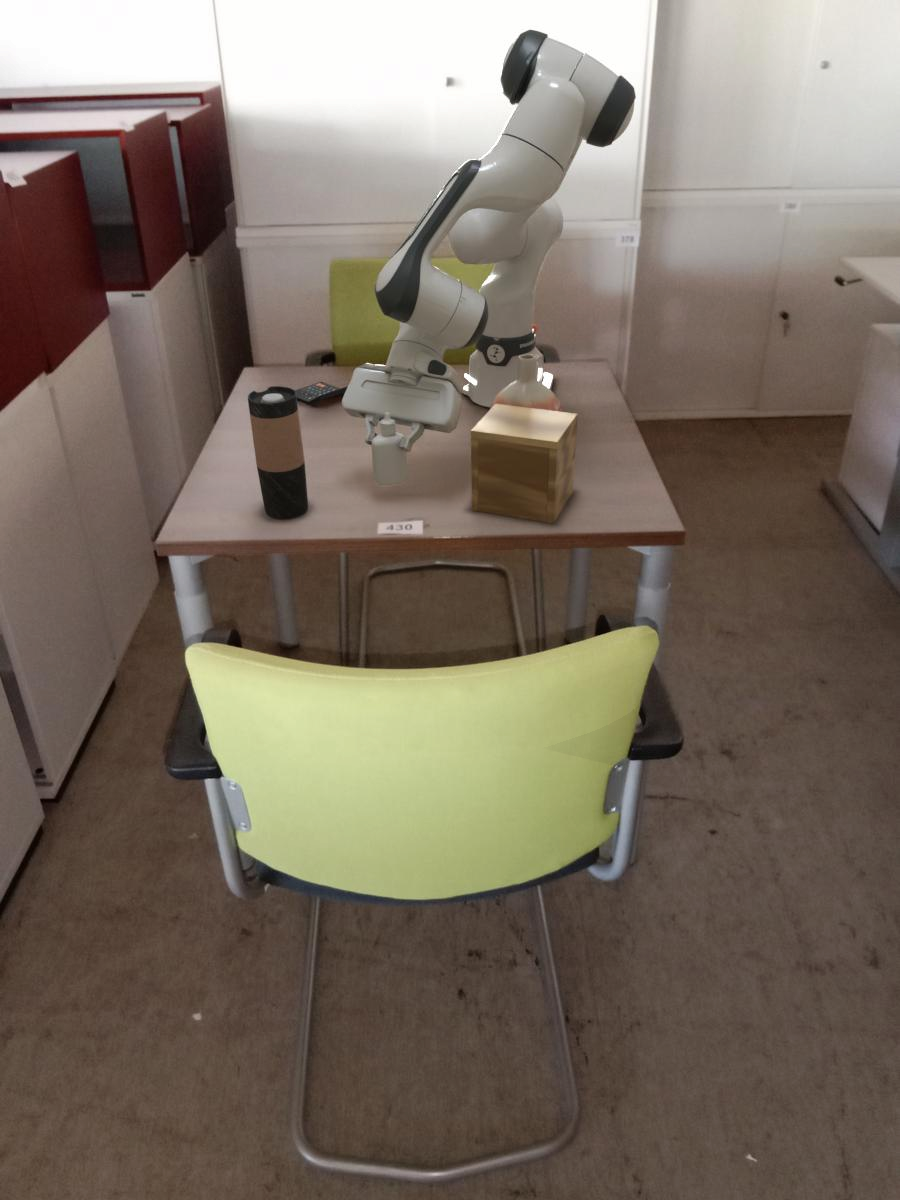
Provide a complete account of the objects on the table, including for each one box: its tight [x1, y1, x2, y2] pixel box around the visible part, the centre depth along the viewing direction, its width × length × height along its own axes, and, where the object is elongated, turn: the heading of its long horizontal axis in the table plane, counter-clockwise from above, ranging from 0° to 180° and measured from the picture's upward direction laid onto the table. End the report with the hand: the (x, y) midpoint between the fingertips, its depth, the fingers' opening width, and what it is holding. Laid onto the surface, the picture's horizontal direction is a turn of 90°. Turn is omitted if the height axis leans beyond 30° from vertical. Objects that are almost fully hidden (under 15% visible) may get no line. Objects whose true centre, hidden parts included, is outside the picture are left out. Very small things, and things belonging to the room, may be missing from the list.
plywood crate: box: [470, 404, 578, 524], centre depth 151 cm, size 12×14×14 cm
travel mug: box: [247, 385, 309, 521], centre depth 149 cm, size 8×8×20 cm
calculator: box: [294, 381, 348, 406], centre depth 196 cm, size 9×12×3 cm
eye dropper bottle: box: [371, 412, 409, 486], centre depth 152 cm, size 4×6×12 cm
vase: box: [488, 354, 563, 412], centre depth 168 cm, size 14×14×18 cm
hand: (387, 447), depth 152 cm, fingers closed on eye dropper bottle, 5 cm apart
